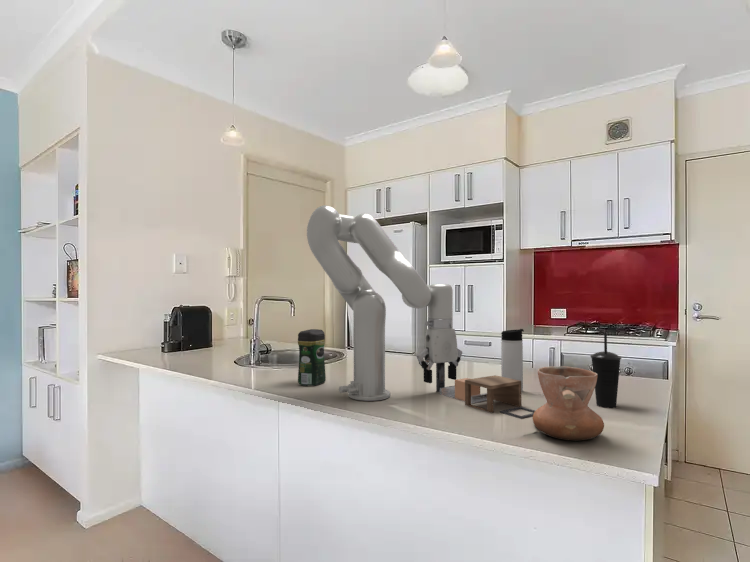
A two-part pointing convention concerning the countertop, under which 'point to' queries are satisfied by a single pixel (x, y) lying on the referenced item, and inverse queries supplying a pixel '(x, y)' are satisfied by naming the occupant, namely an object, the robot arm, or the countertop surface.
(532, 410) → the dark piece
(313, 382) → the coffee jar
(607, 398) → the drinking cup
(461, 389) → the block
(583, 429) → the ceramic jug
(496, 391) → the tunnel
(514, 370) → the travel mug
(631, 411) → the countertop surface
